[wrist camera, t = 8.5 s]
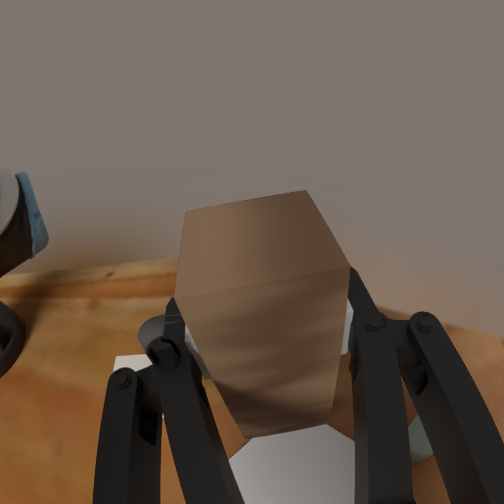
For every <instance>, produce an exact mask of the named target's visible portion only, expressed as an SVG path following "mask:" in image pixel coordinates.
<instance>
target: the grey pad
mask: <svg viewBox="0 0 504 504" xmlns="http://www.w3.org/2000/svg"><path fill="white" fill-rule="evenodd" d="M228 461H229V463H230V466H231V469H232V471H233V474H234V477H235V479H236V482H237V484H238V487H239V490H240V492H241V495H242V497H243V500H244V502H245V504H354V497H355V442H354V441H353V440H351V439H349V438H348V437H346V436H345V435H343V434H341V433H340V432H338V431H337V430H335V429H333V428H332V427H330V426H329V425H327V424H324V425H320V426H315V427H311V428H306V429H302V430H297V431H292V432H286V433H281V434H275V435H269V436H263V437H256V438H252V439H251V440H250V441H249V442H248V443H247V444H246V445H245V446H244V447H243V448H241V449H240V450H239V451H238V452H237V453H236V454H235V455H234V456H232V457H231V458H230V459H229V460H228Z"/></svg>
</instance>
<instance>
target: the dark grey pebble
mask: <svg viewBox="0 0 504 504" xmlns="http://www.w3.org/2000/svg"><path fill="white" fill-rule="evenodd" d="M165 317H166V316H155V317H153V318H150V319H149V320H147V321H146V322H145V323H144V324H143V325H142V326H141V327H140V329H139V332H138V339H139V342H140V343H141V345H142V346H143V348H144V349H145V351H146V349H147V347H148V345H149V343H150V342H151V341H152V340H153V339H155V338H157V337H159V336H163V332H164V324H165Z"/></svg>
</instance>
